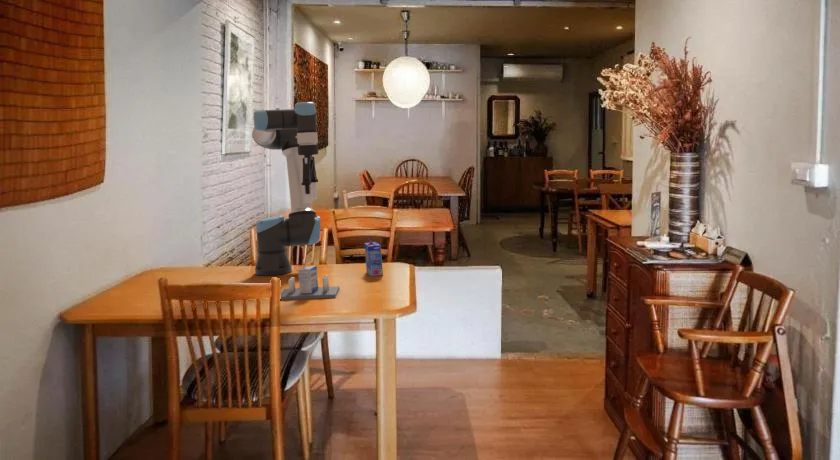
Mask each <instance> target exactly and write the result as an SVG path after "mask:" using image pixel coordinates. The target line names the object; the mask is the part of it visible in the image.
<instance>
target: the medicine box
mask: <svg viewBox="0 0 840 460" xmlns="http://www.w3.org/2000/svg"><path fill="white" fill-rule="evenodd" d="M297 274H298V287H299V288H300V293H301V294H312V293H313V292H314V291H316V290H317V289H318V287H319V280H318V267H317V265H306V266H303V267H302V268H300V269H298V270H297Z"/></svg>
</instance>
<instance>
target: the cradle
mask: <svg viewBox="0 0 840 460" xmlns="http://www.w3.org/2000/svg"><path fill="white" fill-rule="evenodd" d="M295 280H296V277H293V276H291V277H290V278H288V281H287V282H288V288H284V289H283V290H282V291H281V292H280V294H281V300H280V301H289V300H290V301H292V300H295V301H297V300H315V299H316V300H317V299H336V298H337V296H338V294H339V291H340V286H329V285H330V283H329V282H330V281H329V275H323V277H322V279H321V280H322V286H320V287H319V286H318V289H317V290H316V291H314V292H313V293H312V294H301V293H300V288H298V287H296V281H295Z"/></svg>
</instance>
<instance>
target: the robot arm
mask: <svg viewBox="0 0 840 460" xmlns="http://www.w3.org/2000/svg"><path fill="white" fill-rule="evenodd" d="M316 109H317V108H316V104H315V103H314V102H313V101H307V102H306V101H302V102H296V103H295V104H294V108H288V109H261V110H255V111H254V112H253V126H254V127H253V129H252V132H251V133H252V134H251V135H252V138H253V141H254V142H255V144H256V145H258V146H260V147H262V148H265V149H268V150H273V151H274V150H281V153H282V155H283V156H285V160H286V167H287V168H286V169H287V177H288V189H289V198H290V208H291V210H290V212H289V213H288V218H285V216H284V215H280V214H279V215H273V216H269V217H265V218H260V219H258V220H257V221H256V223H255V228H256V229H255V234H256V241H257V243H256V244H257V245H256V247H257V259H256V262H255V266H254V274H255V275H257V276H263V277H264V276H265V277H267V276H279V275H284V274H289V273H291V272H292V271H293V269H292V268H293V267H292V264H291V262H290V259H289V256H288V255H287V247H295V246H296V247H297V246H310V245H316V244H317V243H319V241H320V238H321V229H322V227H321V226H322V225H321V224H322V222H321V216H319V215H317V211H316V210H314V209H313V207H312V203H313V201H315V200H316V201H317V200H318V190H317V188H318V187H317V183H319V179H318V178H317V170H316V163H315V162H316V160H315V156H316V155H319V145H318V144H319V141H318V140H319V139H318V138H319V137H318V129H317V128H318V127H317V110H316ZM313 155H315V156H313Z"/></svg>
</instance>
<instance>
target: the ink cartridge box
mask: <svg viewBox="0 0 840 460" xmlns="http://www.w3.org/2000/svg"><path fill="white" fill-rule="evenodd" d="M367 240H368V241H369V242H364V245H363V246H364V254H365V257H364V258H365V267H366V268H365V269H366V273H367V275H368V276H370V277H375V276H376V277H377V276H383V275H384V269H383V258H382V246H381V244H379V243H378V242H376V241H373V242H372V240H371V239H370V238H367Z"/></svg>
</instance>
